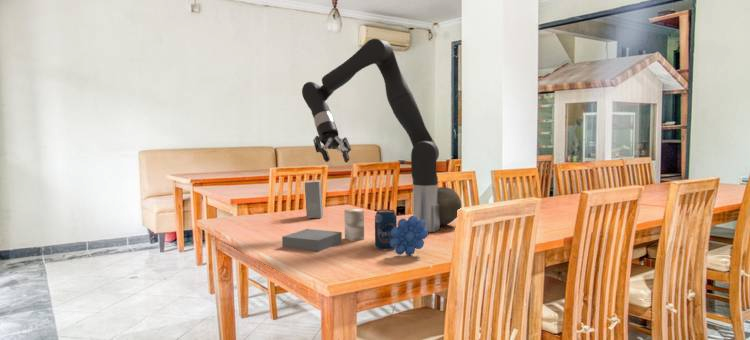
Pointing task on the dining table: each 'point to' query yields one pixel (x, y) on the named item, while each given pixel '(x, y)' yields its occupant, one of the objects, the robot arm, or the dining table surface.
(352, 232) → the grey piece
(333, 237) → the slate base
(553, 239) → the dining table surface
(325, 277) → the dining table surface
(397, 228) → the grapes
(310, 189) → the grey rectangular block
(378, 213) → the soda can
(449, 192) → the dark grey ball
